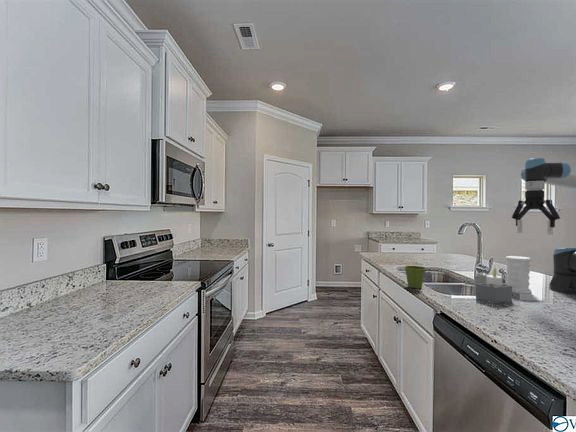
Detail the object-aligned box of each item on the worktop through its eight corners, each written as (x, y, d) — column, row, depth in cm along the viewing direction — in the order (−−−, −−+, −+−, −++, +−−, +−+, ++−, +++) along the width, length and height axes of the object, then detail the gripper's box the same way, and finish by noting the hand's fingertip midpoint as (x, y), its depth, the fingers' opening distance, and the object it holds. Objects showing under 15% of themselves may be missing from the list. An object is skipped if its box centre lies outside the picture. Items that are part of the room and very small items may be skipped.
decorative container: (499, 289, 175) (499, 256, 174) (513, 287, 179) (513, 255, 179) (522, 294, 164) (522, 259, 164) (536, 292, 168) (536, 258, 168)
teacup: (476, 292, 169) (476, 277, 169) (472, 287, 179) (472, 273, 179) (507, 294, 164) (507, 278, 164) (501, 289, 175) (501, 275, 175)
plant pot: (420, 290, 172) (420, 269, 172) (400, 287, 181) (400, 267, 181) (430, 287, 180) (430, 267, 180) (410, 283, 189) (410, 264, 189)
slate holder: (491, 296, 161) (491, 281, 161) (511, 301, 151) (512, 286, 151) (476, 298, 157) (476, 283, 156) (496, 304, 147) (496, 288, 147)
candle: (484, 298, 154) (484, 267, 154) (489, 295, 158) (489, 265, 158) (499, 301, 149) (499, 268, 149) (503, 298, 154) (503, 267, 153)
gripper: (503, 191, 167) (503, 232, 167) (559, 188, 144) (559, 235, 144) (513, 191, 170) (513, 231, 170) (569, 188, 147) (569, 234, 147)
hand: (534, 233), depth 157 cm, fingers open, 13 cm apart
